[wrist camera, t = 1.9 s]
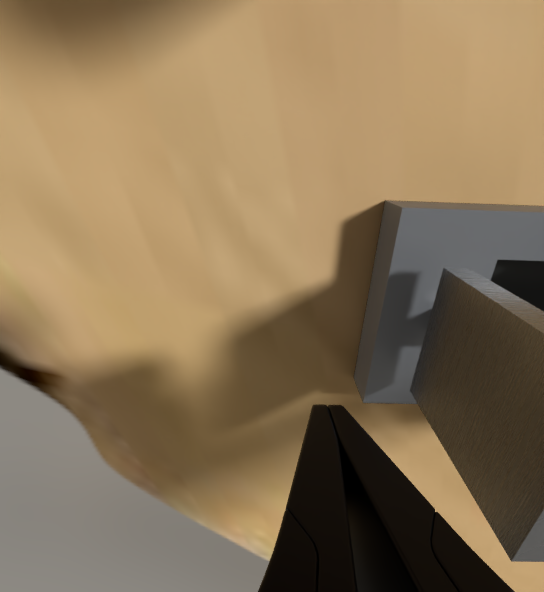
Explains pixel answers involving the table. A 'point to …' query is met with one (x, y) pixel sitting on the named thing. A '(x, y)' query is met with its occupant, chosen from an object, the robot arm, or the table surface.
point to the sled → (489, 401)
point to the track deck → (438, 279)
